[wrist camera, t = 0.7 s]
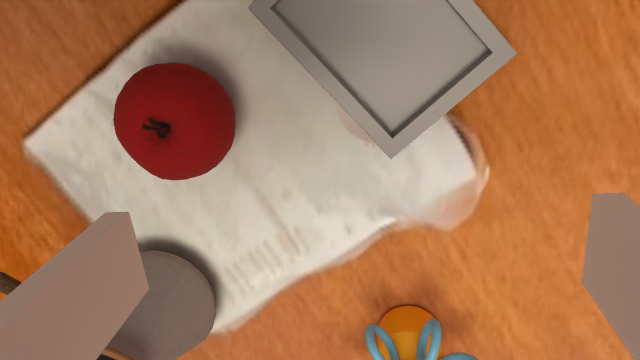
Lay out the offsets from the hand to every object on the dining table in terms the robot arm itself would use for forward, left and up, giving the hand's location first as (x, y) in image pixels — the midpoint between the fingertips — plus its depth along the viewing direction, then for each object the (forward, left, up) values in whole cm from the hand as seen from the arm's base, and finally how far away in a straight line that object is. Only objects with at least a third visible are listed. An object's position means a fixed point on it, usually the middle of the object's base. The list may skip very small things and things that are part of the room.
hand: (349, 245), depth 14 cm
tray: (-3, +3, -27) cm, 28 cm away
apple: (-9, -13, -28) cm, 32 cm away
